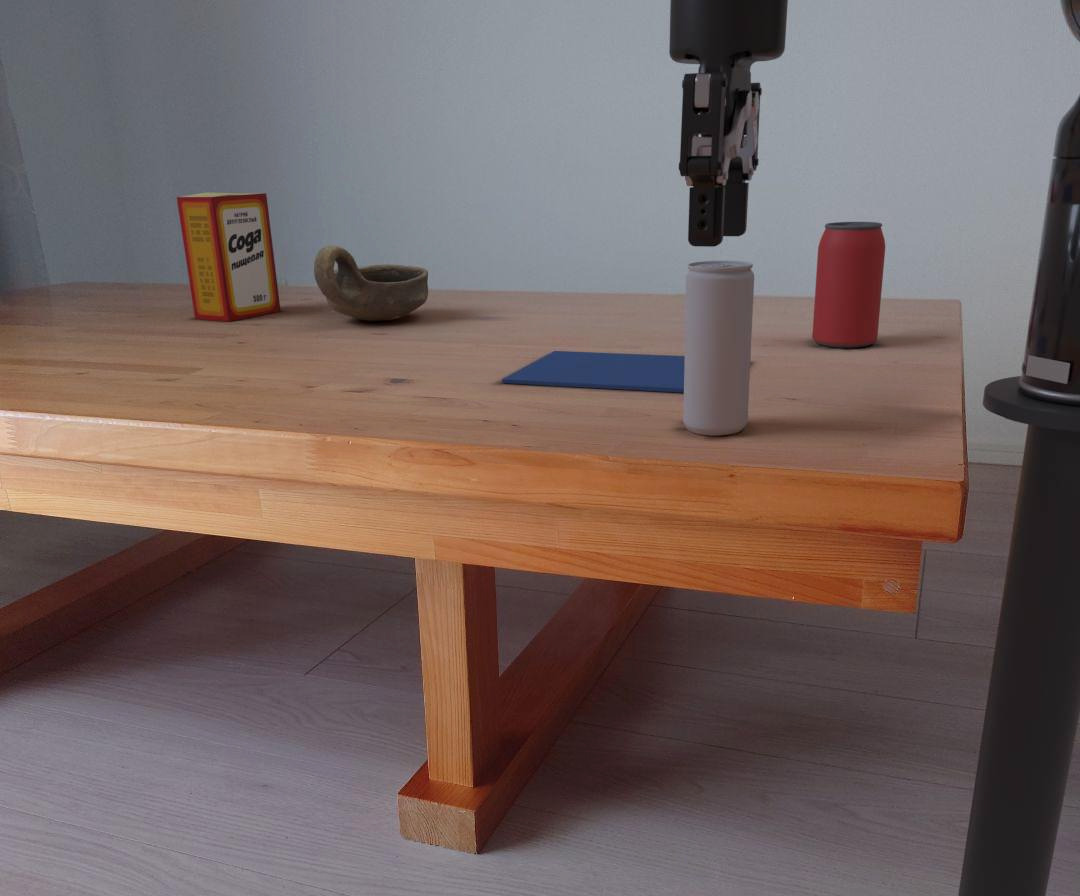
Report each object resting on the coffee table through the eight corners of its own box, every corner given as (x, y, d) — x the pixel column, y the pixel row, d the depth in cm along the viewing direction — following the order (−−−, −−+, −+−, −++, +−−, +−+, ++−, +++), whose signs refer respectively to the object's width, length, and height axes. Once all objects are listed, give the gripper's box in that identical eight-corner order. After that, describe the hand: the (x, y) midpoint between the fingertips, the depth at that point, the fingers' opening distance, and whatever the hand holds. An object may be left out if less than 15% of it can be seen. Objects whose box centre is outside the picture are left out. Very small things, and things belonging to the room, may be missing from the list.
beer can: (882, 339, 107) (893, 221, 103) (870, 350, 101) (881, 226, 97) (819, 336, 110) (827, 221, 105) (805, 347, 104) (812, 226, 100)
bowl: (454, 314, 133) (449, 235, 129) (367, 336, 119) (359, 248, 115) (373, 309, 140) (367, 234, 136) (283, 329, 126) (272, 246, 122)
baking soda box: (247, 308, 144) (231, 190, 138) (280, 311, 141) (265, 190, 135) (195, 318, 137) (176, 194, 131) (228, 321, 133) (210, 193, 127)
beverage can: (760, 427, 76) (768, 262, 71) (721, 440, 72) (727, 269, 68) (708, 417, 79) (713, 259, 74) (669, 429, 76) (671, 265, 71)
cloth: (747, 362, 98) (747, 358, 98) (718, 394, 86) (718, 390, 86) (554, 354, 105) (554, 350, 105) (502, 383, 93) (501, 379, 93)
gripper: (770, -43, 57) (754, 251, 63) (803, -11, 70) (787, 233, 76) (643, -32, 60) (639, 249, 66) (696, -3, 72) (689, 232, 78)
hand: (718, 240), depth 71 cm, fingers open, 8 cm apart
